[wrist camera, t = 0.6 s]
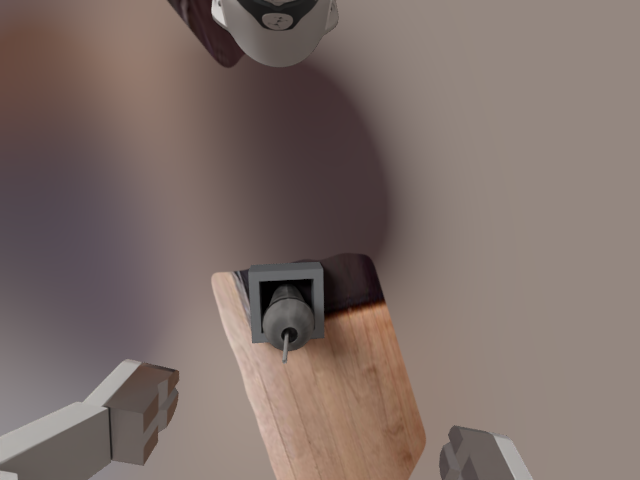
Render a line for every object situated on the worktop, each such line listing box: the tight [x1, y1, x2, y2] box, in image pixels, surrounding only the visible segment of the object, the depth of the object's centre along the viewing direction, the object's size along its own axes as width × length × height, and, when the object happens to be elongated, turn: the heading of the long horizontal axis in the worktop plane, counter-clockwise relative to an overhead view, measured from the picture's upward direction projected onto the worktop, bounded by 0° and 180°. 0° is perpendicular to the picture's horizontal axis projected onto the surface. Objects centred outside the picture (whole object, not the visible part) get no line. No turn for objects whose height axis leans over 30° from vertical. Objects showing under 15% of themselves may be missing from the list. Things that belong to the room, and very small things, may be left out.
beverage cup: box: [262, 283, 315, 363], centre depth 45 cm, size 7×7×20 cm
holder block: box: [248, 262, 324, 343], centre depth 53 cm, size 12×12×5 cm
